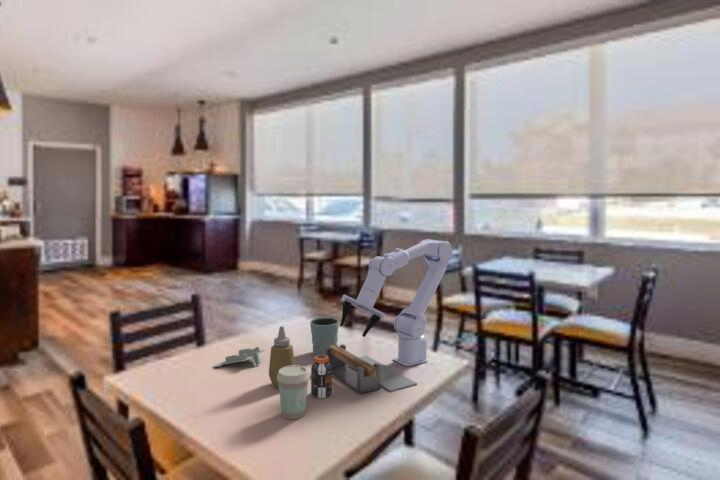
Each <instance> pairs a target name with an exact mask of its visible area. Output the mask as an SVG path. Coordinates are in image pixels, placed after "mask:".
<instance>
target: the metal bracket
mask: <svg viewBox="0 0 720 480" xmlns="http://www.w3.org/2000/svg"><path fill="white" fill-rule="evenodd" d="M265 351H266V350H265V349H263V350H260V347H259V346H256V347H255V348H249V347H248V348H244V349H243V348H242V349H239V350H238V352H237V353H236V354H234V355H228V356H225V359H224V360H223V361H221V362H219V363H217V364H215V365H213V366H212V368H219V367H221V366H223V365H229V364H234V363H240V362H245V361H248V360H250V359H251V360H252V364H253V368H256V367H258V366H260V365H261V364H262V362H261V358H260V354H261V353H263V352H265Z"/></svg>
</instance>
